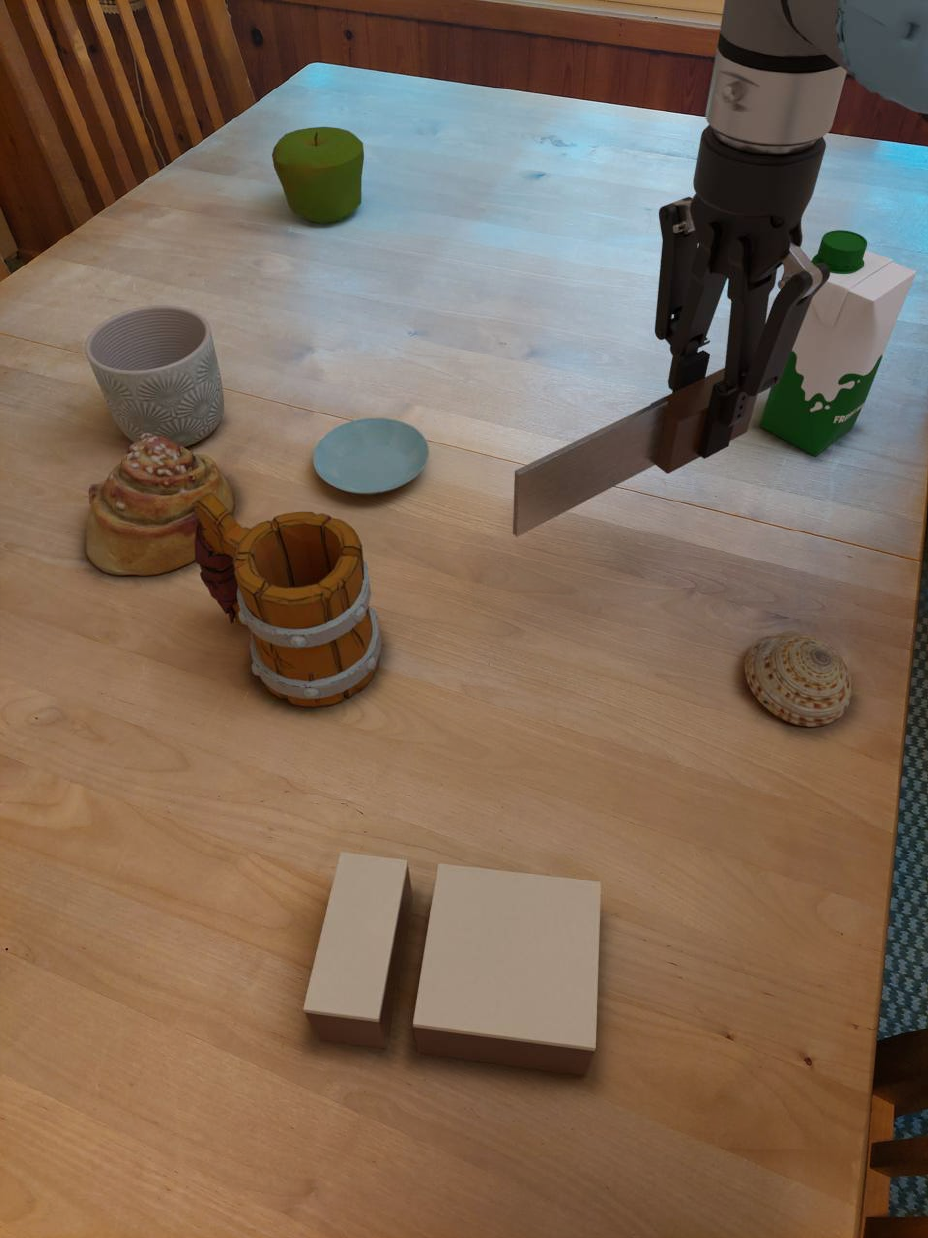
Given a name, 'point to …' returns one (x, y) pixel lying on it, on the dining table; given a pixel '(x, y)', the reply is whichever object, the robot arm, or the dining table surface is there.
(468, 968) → the beige square block
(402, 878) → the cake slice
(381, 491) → the saucer
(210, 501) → the mug
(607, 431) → the knife
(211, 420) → the planter
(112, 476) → the pastry
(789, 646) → the seashell
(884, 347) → the milk carton
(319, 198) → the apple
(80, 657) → the dining table surface
